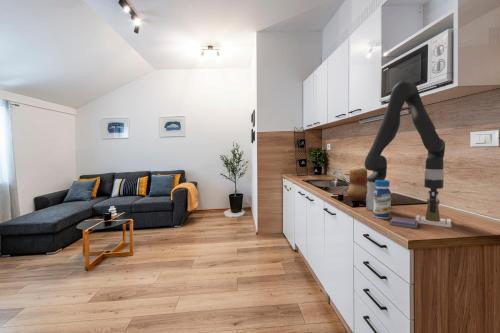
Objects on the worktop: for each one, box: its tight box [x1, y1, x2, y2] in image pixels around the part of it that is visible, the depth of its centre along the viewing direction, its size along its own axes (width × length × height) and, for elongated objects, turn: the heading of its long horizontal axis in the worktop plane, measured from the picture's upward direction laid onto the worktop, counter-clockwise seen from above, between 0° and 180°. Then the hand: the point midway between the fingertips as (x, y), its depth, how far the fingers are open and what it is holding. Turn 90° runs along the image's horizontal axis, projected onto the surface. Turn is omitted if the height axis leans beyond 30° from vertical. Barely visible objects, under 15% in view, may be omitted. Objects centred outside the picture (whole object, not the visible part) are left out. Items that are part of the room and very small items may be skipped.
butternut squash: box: [346, 165, 368, 203], centre depth 170 cm, size 14×13×25 cm
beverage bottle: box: [372, 179, 392, 220], centre depth 130 cm, size 8×8×20 cm
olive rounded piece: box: [425, 197, 441, 222], centre depth 120 cm, size 6×6×11 cm
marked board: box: [414, 215, 452, 229], centre depth 120 cm, size 14×12×1 cm
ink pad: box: [388, 216, 419, 230], centre depth 118 cm, size 11×10×2 cm
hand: (432, 210), depth 120 cm, fingers open, 8 cm apart
